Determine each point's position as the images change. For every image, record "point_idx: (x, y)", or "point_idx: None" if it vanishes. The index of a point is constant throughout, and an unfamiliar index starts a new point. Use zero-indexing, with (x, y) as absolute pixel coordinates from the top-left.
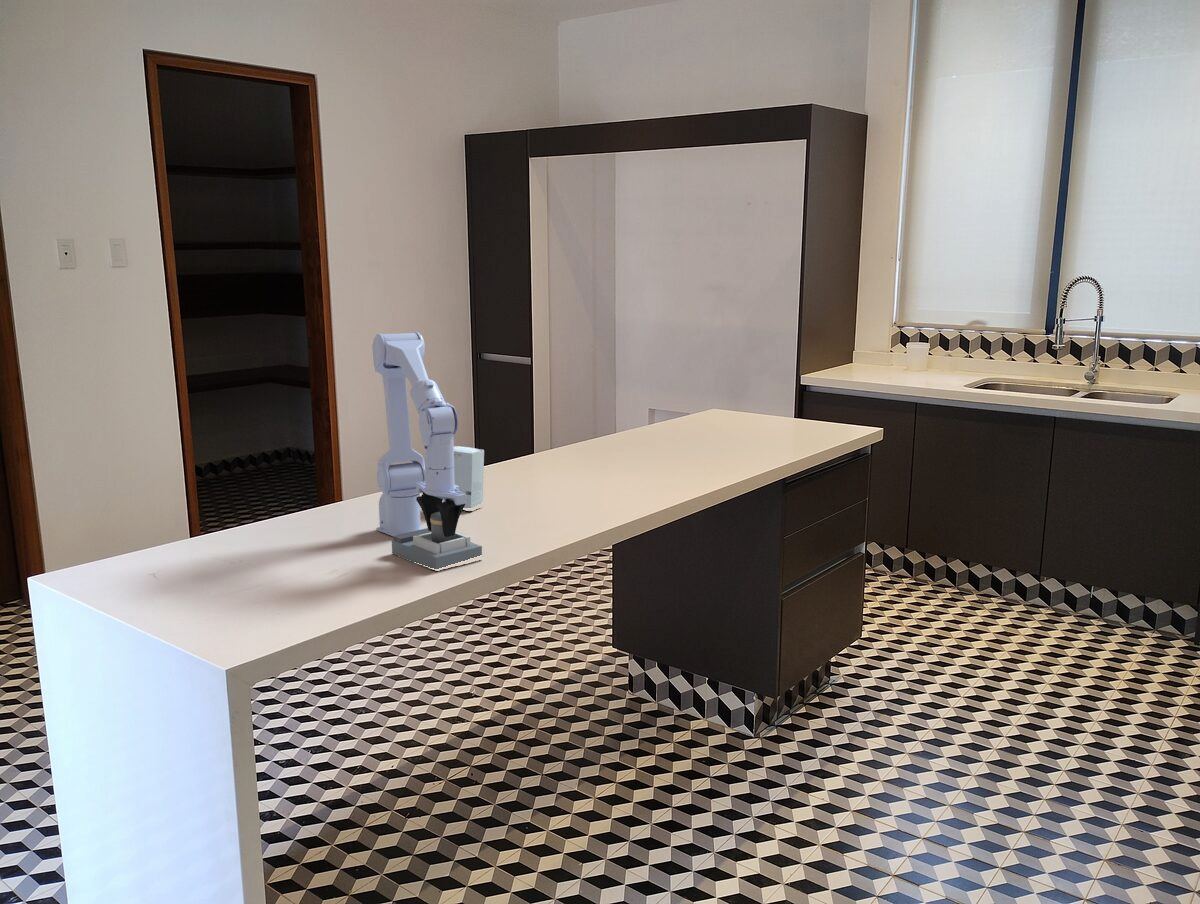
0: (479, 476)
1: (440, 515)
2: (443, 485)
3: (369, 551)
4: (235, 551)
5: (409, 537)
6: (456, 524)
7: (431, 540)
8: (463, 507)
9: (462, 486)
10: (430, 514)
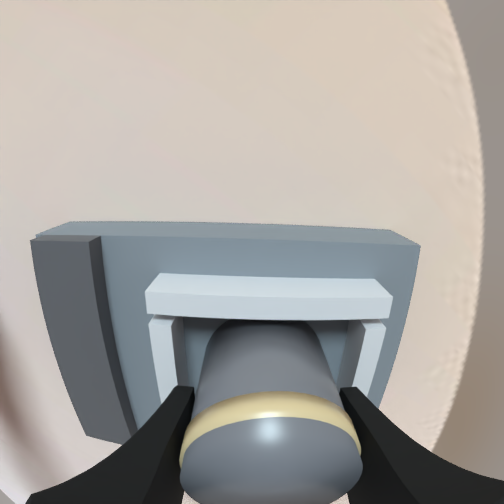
0: None
1: (271, 495)
2: None
3: (57, 402)
4: (8, 470)
5: (126, 420)
6: (387, 422)
7: (185, 372)
8: (485, 479)
9: None
10: (177, 491)
